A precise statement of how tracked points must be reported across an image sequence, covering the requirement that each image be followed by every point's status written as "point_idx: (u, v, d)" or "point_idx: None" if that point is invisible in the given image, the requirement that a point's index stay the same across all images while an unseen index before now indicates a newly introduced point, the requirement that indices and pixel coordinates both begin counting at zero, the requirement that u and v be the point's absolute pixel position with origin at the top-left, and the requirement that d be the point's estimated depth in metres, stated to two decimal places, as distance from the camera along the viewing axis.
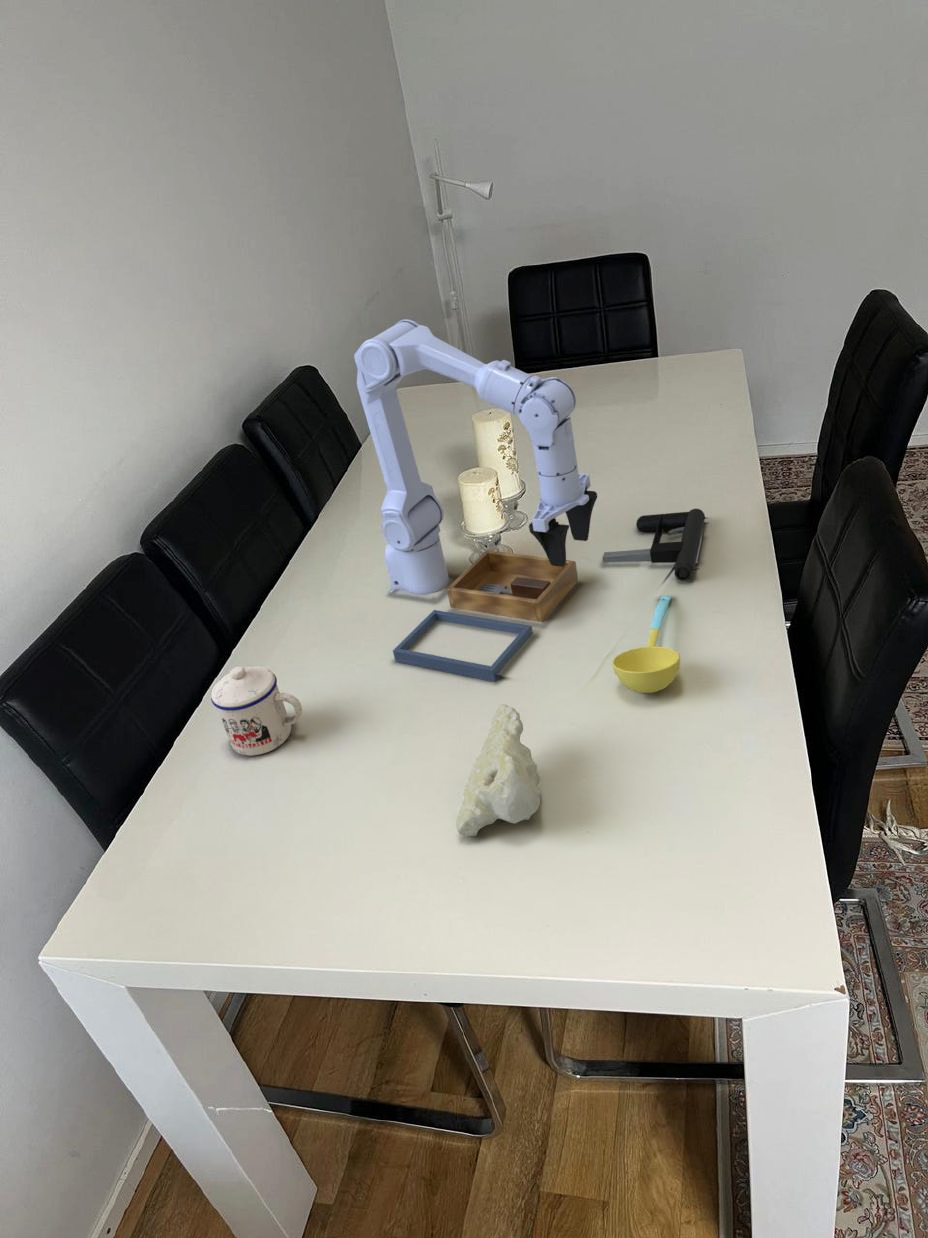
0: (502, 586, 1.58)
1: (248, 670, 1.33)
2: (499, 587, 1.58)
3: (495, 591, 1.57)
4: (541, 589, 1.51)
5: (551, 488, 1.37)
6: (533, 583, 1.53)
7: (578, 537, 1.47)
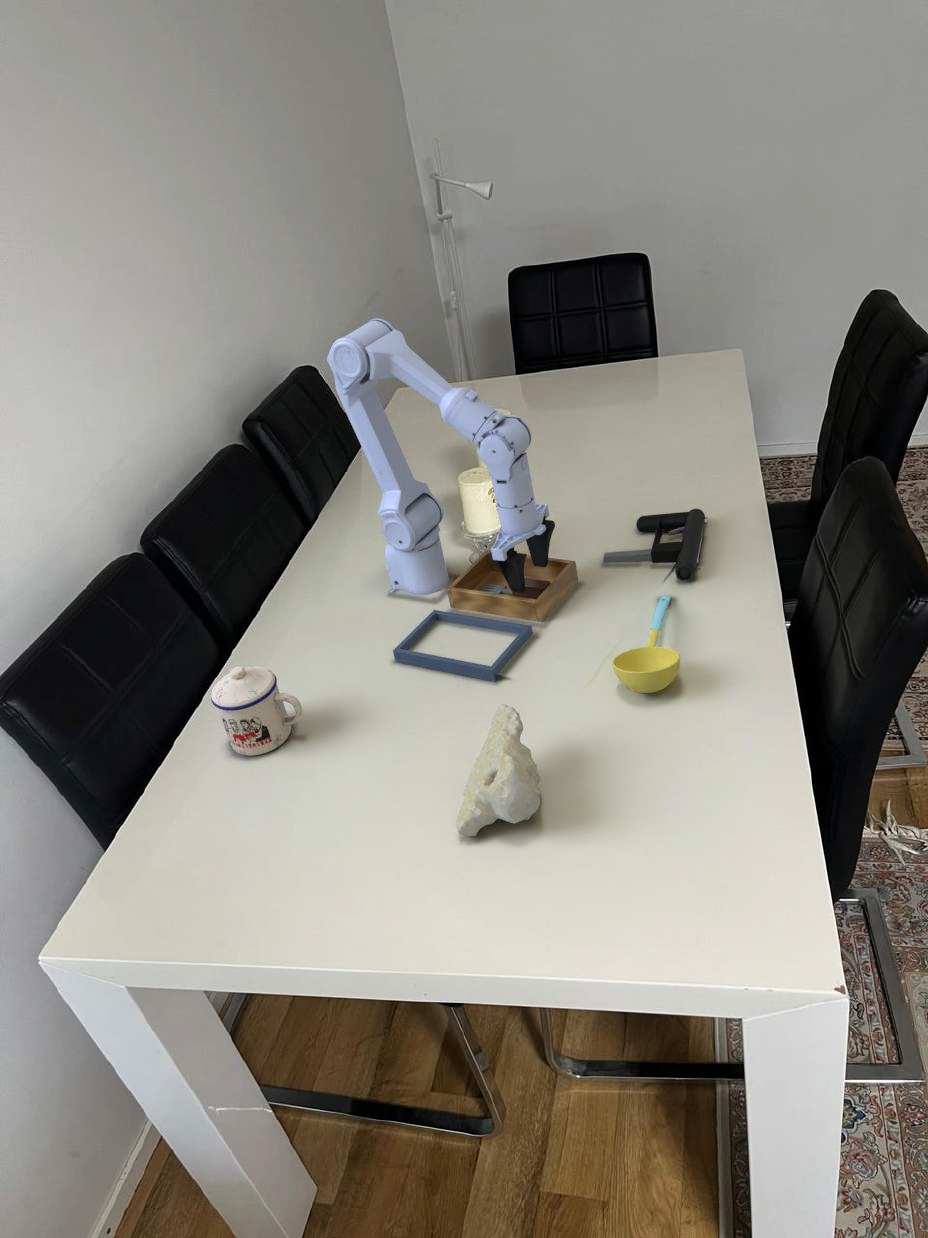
0: (502, 586, 1.58)
1: (248, 670, 1.33)
2: (499, 587, 1.58)
3: (495, 591, 1.57)
4: (541, 589, 1.51)
5: (509, 519, 1.44)
6: (533, 583, 1.53)
7: (538, 564, 1.55)
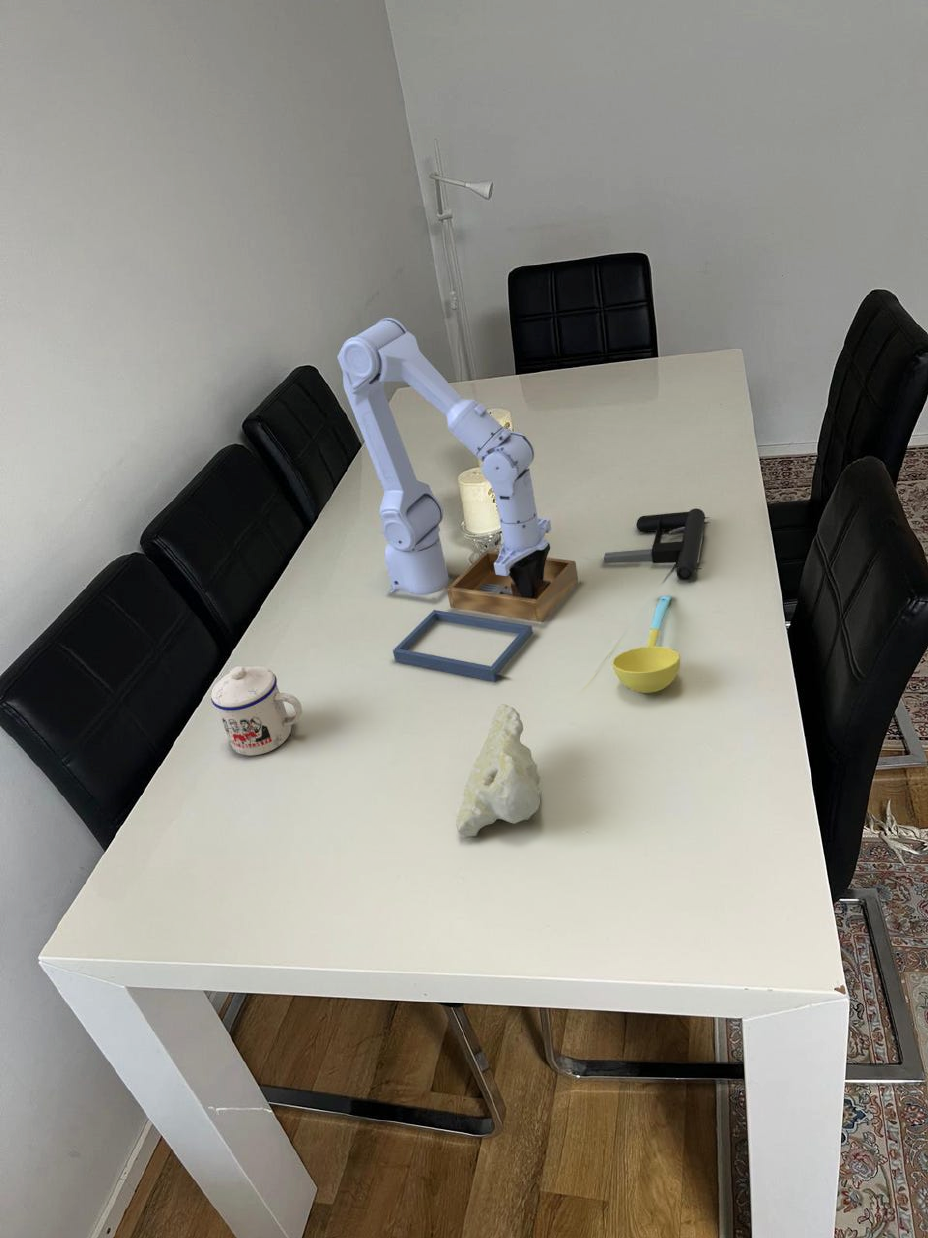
0: (502, 586, 1.58)
1: (248, 670, 1.33)
2: (499, 587, 1.58)
3: (495, 591, 1.57)
4: (541, 588, 1.51)
5: (512, 534, 1.46)
6: None
7: None
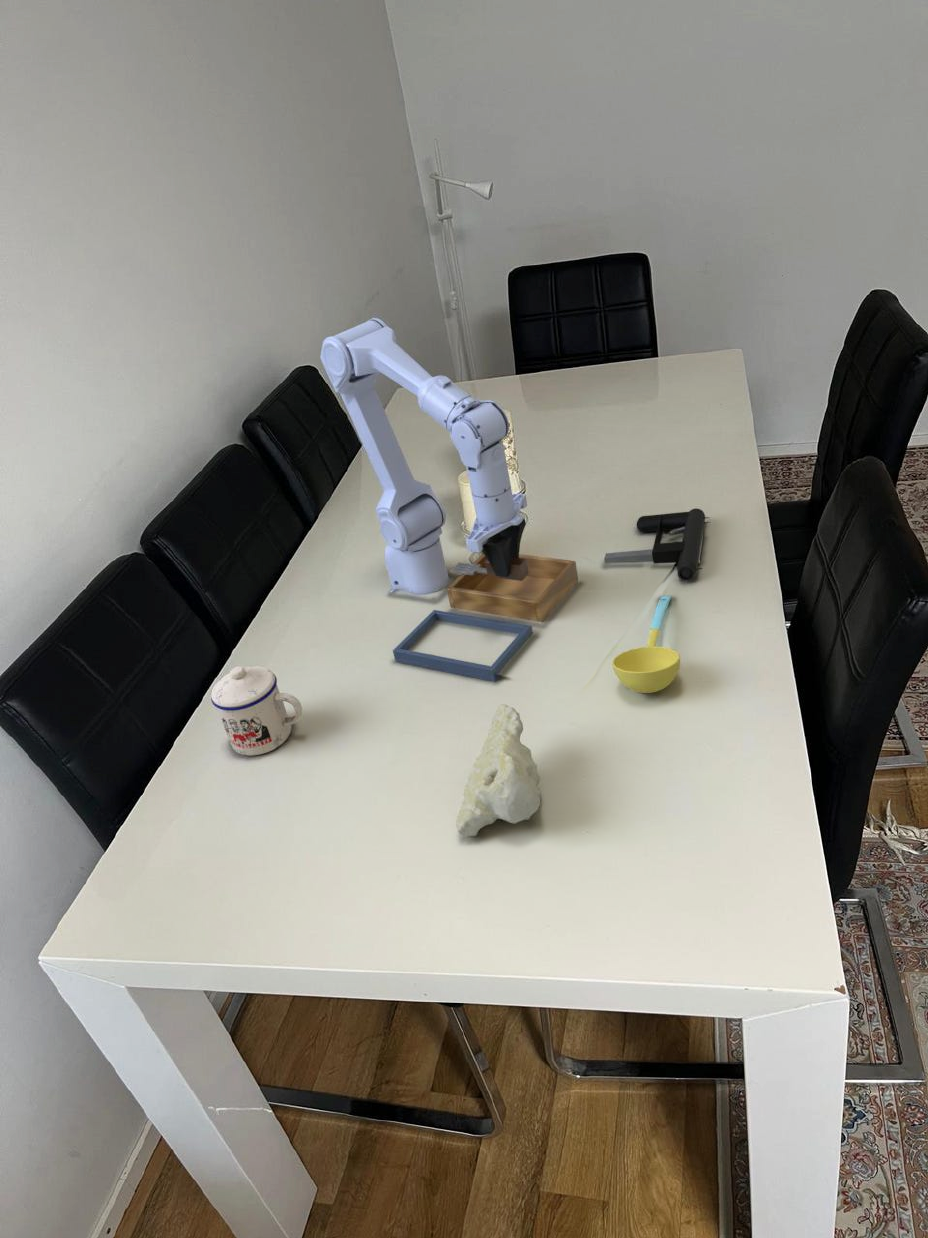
0: (477, 565, 1.51)
1: (248, 670, 1.33)
2: (473, 566, 1.50)
3: (469, 570, 1.50)
4: (517, 566, 1.44)
5: (485, 508, 1.39)
6: None
7: None
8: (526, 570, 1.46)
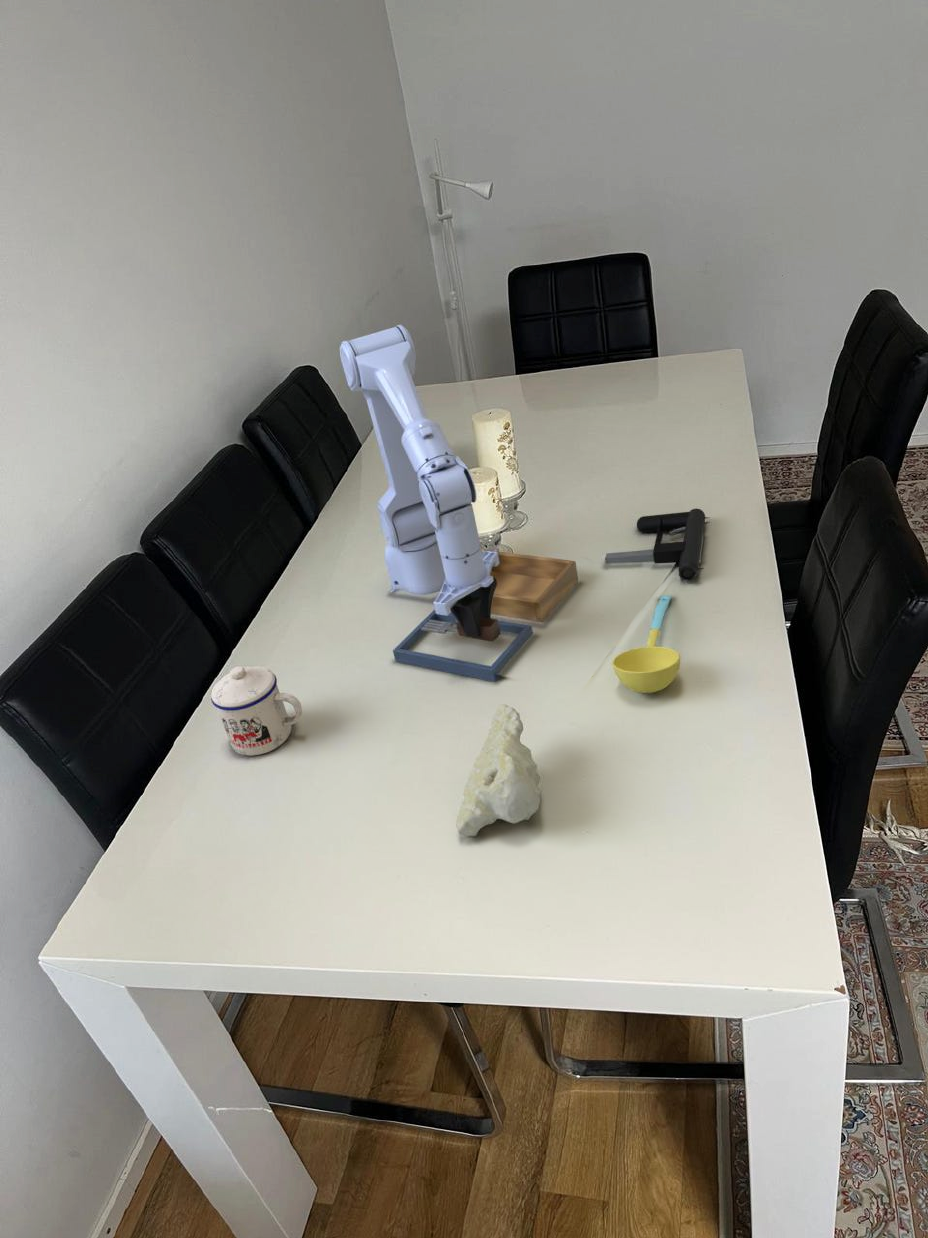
0: (448, 623, 1.47)
1: (248, 670, 1.33)
2: (445, 624, 1.46)
3: (440, 629, 1.46)
4: (488, 628, 1.40)
5: (453, 570, 1.35)
6: None
7: None
8: (498, 631, 1.42)
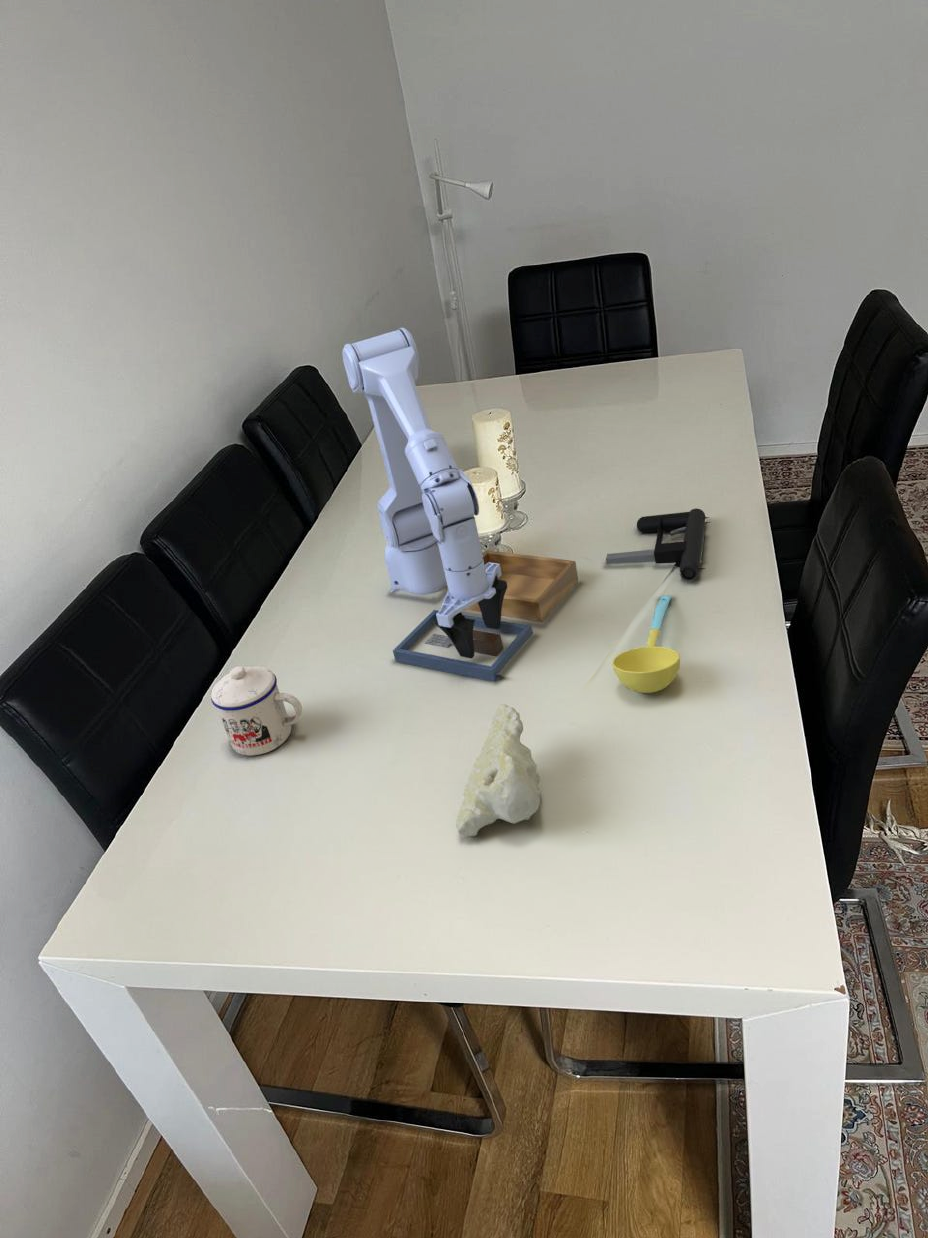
0: None
1: (248, 670, 1.33)
2: (448, 639, 1.48)
3: (444, 643, 1.47)
4: (491, 643, 1.41)
5: (456, 582, 1.36)
6: (482, 636, 1.43)
7: (490, 625, 1.46)
8: (501, 646, 1.43)
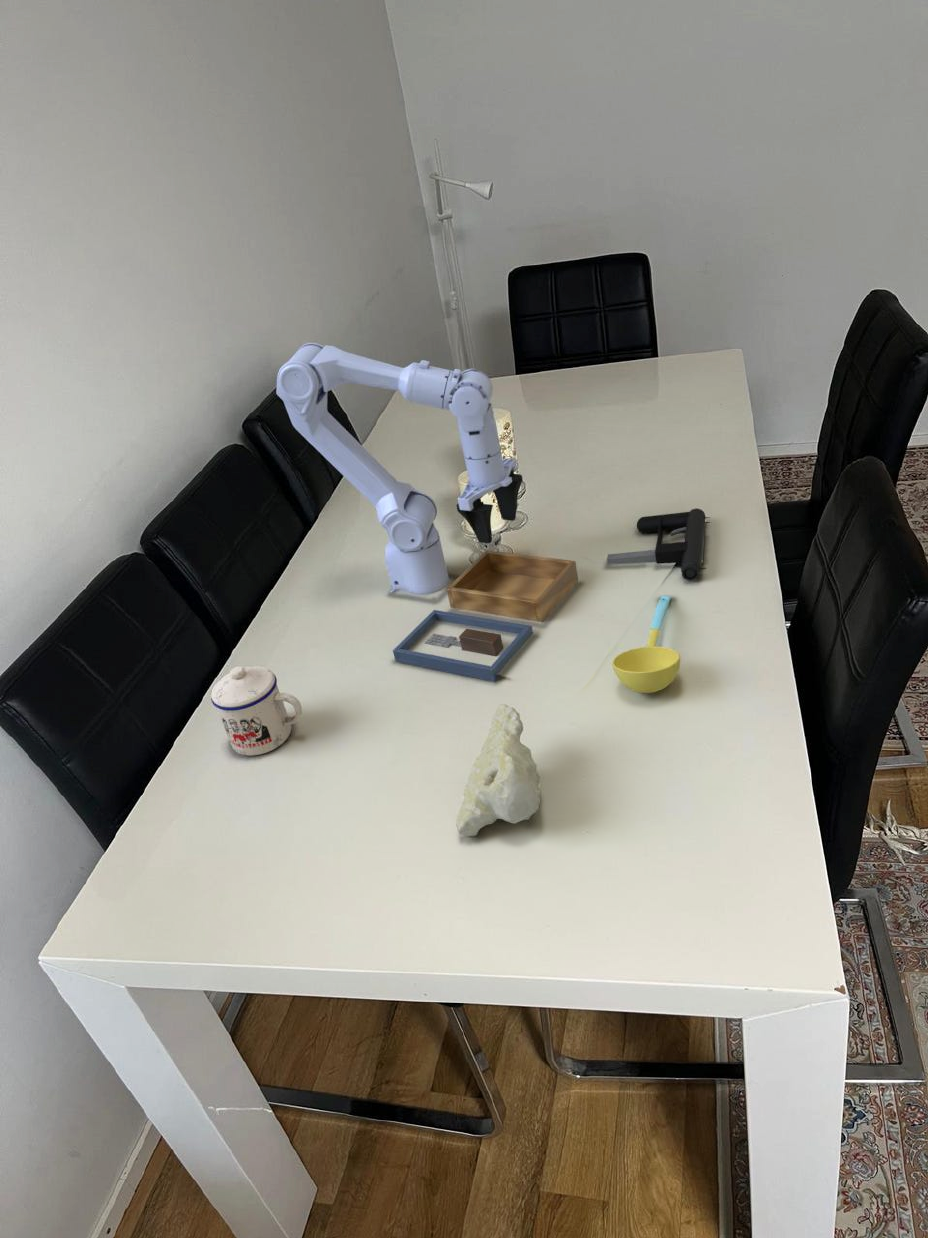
0: (451, 638, 1.48)
1: (248, 670, 1.33)
2: (448, 639, 1.48)
3: (444, 643, 1.47)
4: (491, 643, 1.41)
5: (476, 470, 1.49)
6: (482, 636, 1.43)
7: (506, 517, 1.59)
8: (501, 646, 1.43)
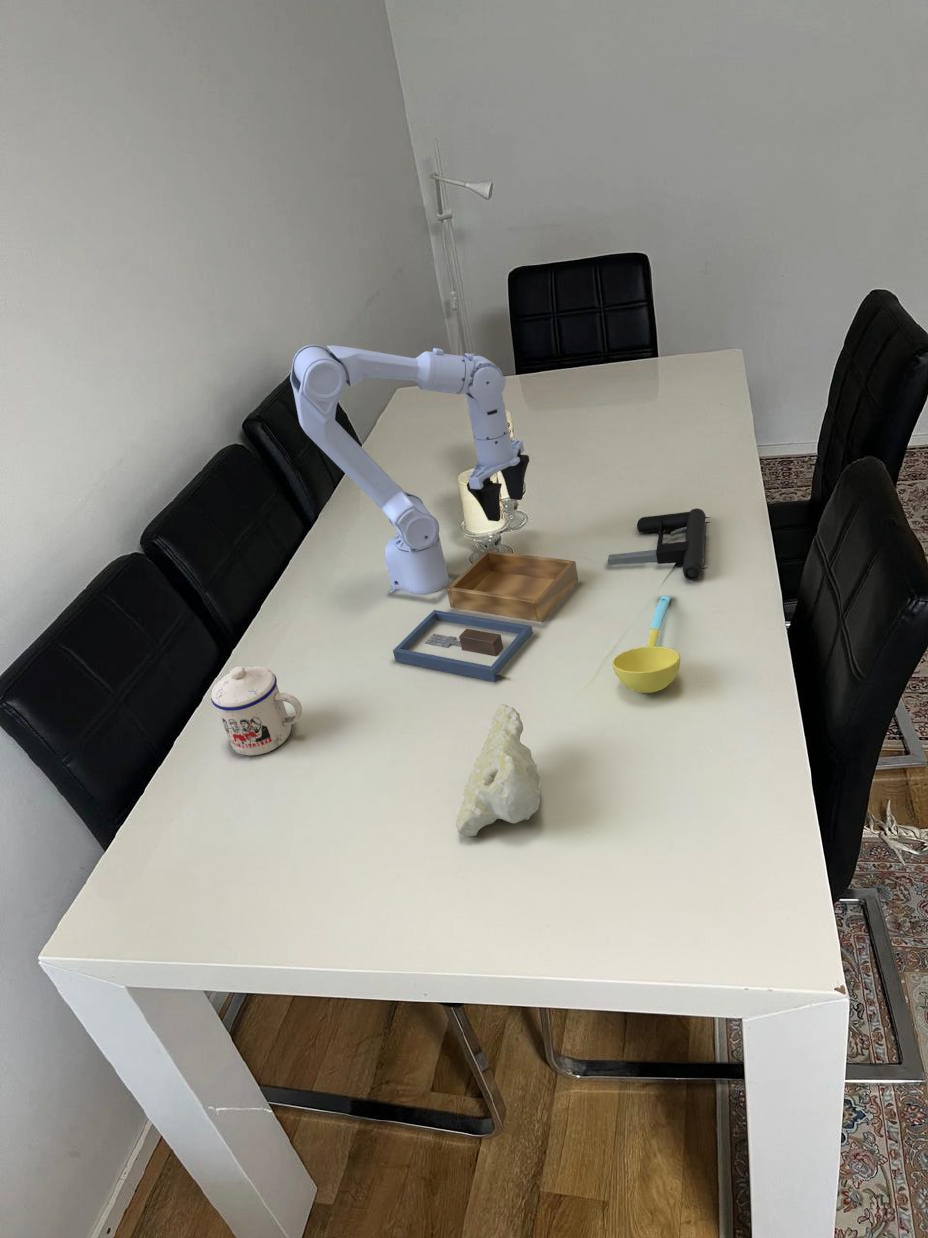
0: (451, 638, 1.48)
1: (248, 670, 1.33)
2: (448, 639, 1.48)
3: (444, 643, 1.47)
4: (491, 643, 1.41)
5: (485, 450, 1.55)
6: (482, 636, 1.43)
7: (513, 496, 1.65)
8: (501, 646, 1.43)
